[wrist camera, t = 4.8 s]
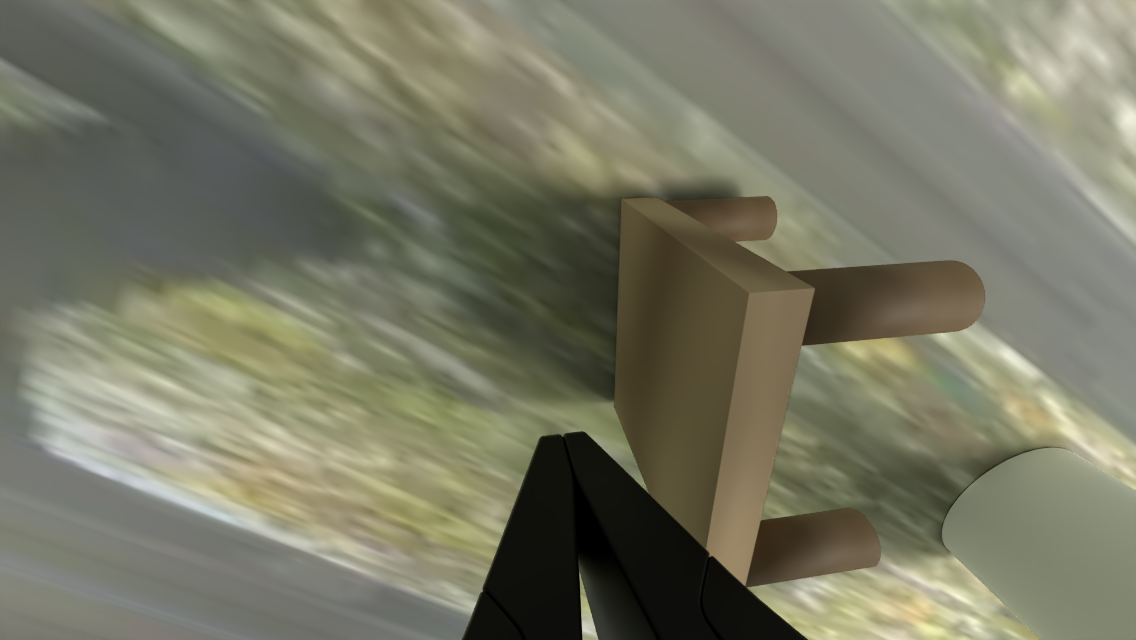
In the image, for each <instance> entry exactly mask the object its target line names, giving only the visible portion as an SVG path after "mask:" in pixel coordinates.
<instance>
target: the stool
mask: <svg viewBox="0 0 1136 640" xmlns="http://www.w3.org/2000/svg"><path fill="white" fill-rule="evenodd" d="M776 223H777V210H776V206H775V203H774V201H773V200H772V199H771V198H770V197H768V196H762V197H739V198H717V199H695V200H673V201H662V200H660V199H659V198H657V197H650V198H627V199H622V201H621V229H620V256H619V284H618V312H617V340H616V368H615V396H614V408H615V410H616V413H617V415H618V418H619V420H620V423H621V425H622V428H623V430H624V432H625V435H626V437H627V440H628V442H629V445H630V447H631V450H632V452H633V455H634V457H635V460H636V462H637V465H638V467H639V469H640V472H641V474H642V477H643V479H644V482H645V484H646V487H647V489H648V492H649V494H650V495H651V496H652V497H653V498H654V499H655V500H656V501H657V502H658V503H659V504H660V505H661V506H662V507H663V508H664V509H665V510H666V511H667V512H668V513H669V514H670V515H671V516H672V517H673V518H674V519H675V520H677V521H678V522H679V523H680V524H681V525H682V526H683V527H684V528H685V529H686V530H687V531H688V532H689V533H690V534H691V535H692V536H693V537H694V538H695V539H696V540H697V541H698V542H699V543H700V544H701V545H702V546H703V547H704V548H705V549H706V550H708V551H709V553H710V556H714V557H715V558H716V559H717V560H718V561H719V562H720V563H721V564H722V565H723V566H724V567H725V568H726V569H727V570H728V571H729V572H730V573H732V574H733V575H734V576H735V577H736V578H737V579H738V580H739V581H740V582H741V583H742V584H743V585H745V586H746V587H752V586H759V585H765V584H771V583H777V582H783V581H789V580H795V579H801V578H808V577H814V576H820V575H826V574H832V573H838V572H844V571H850V570H856V569H863V568H869V567H874V566H876V565H877V564H878V562H879V560H880V556H881V549H880V543H879V539H878V537H877V534H876V532H875V530H874V528H873V526H872V525H871V523H870V522H869V520H868V519H867V518H866V517H865V516H864V515H863V514H862V513H861V512H859V511H858V510H856V509H853V508H845V509H838V510H831V511H824V512H817V513H810V514H803V515H796V516H789V517H782V518H775V519H768V520H761V517H762V512H763V508H764V504H765V500H766V495H767V491H768V487H769V483H770V478H771V474H772V470H773V465H774V461H775V457H776V453H777V448H778V444H779V440H780V436H781V431H782V427H783V423H784V419H785V414H786V410H787V406H788V401H789V397H790V393H791V389H792V384H793V380H794V376H795V372H796V367H797V363H798V359H799V354H800V350H801V346H804V345H814V344H825V343H836V342H847V341H858V340H869V339H880V338H891V337H902V336H912V335H923V334H934V333H945V332H955V331H960V330H963V329H966V328H968V327H969V326H971V325H972V324H973V323H974V322H975V321H976V320H977V319H978V318H979V316H980V315H981V313H982V310H983V307H984V303H985V290H984V286H983V283H982V281H981V279H980V277H979V276H978V274H977V273H976V272H975V271H974V270H973V269H972V268H971V267H969V266H968V265H966V264H964V263H962V262H958V261H952V260H950V261H933V262H919V263H904V264H890V265H875V266H861V267H846V268H832V269H817V270H802V271H788V272H786V271H784V270H783V269H781V268H779V267H777V266H776V265H774V264H772V263H770V262H769V261H767V260H765V259H763V258H762V257H760V256H758V255H756V254H755V253H753V252H751V251H749V250H748V249H746V248H744V247H742V246H741V245H739V244H737V243H735V242H737V241H754V240H766V239H768V238H770V237H771V236H772V234H773V232H774V230H775V227H776Z"/></svg>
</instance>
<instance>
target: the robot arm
mask: <svg viewBox="0 0 1136 640" xmlns="http://www.w3.org/2000/svg"><path fill="white" fill-rule="evenodd" d="M579 570H580V574H581V577H582V581H583V585H584V588H585V592H586V596H587V599H588V603H589V607H590V610H591V614H592V617H593V621H594V625H595V628H596V632H597V636H598V639H599V640H808V639H807V638H805V637H804V636H803V635H802V634H800V633H799V632H798V631H797V630H795V629H794V628H793V627H792V626H791V625H790V624H788V623H787V622H786V621H785V620H784V619H782V618H781V617H780V616H779V615H778V614H776V613H775V612H774V611H773V610H772V609H770V608H769V607H768V606H767V605H766V604H765V603H763V602H762V601H761V600H760V599H759V598H758V597H757V596H755V595H754V594H753V593H752V592H751V591H750V590H749V589H748V588H747V587H746V586H745V585H743V584H742V583H741V582H740V581H739V580H738V579H737V578H736V577H735V576H734V575H733V574H732V573H730V572H729V571H728V570H727V569H726V568H725V567H724V566H723V565H722V564H721V563H720V562H719V561H718V560H717V559H716V558H715V557H714V556H710V553H709V551H708V550H706V549H705V548H704V547H703V546H702V545H701V544H700V543H699V542H698V541H697V540H696V539H695V538H694V537H693V536H692V535H691V534H690V533H689V532H688V531H687V530H686V529H685V528H684V527H683V526H682V525H681V524H680V523H679V522H678V521H677V520H675V519H674V518H673V517H672V516H671V515H670V514H669V513H668V512H667V511H666V510H665V509H664V508H663V507H662V506H661V505H660V504H659V503H658V502H657V501H656V500H655V499H654V498H653V497H652V496H651V495H650V494H649V493H648V492H647V491H646V490H644V489H643V488H642V487H641V486H640V485H639V484H638V483H637V482H636V481H635V480H634V479H633V478H632V477H631V476H630V475H629V474H628V473H627V472H626V471H625V470H624V469H623V468H622V467H621V466H620V465H619V464H618V463H617V462H616V461H615V460H613V459H612V458H611V457H610V456H609V455H608V454H607V453H606V452H605V451H604V450H603V449H602V448H601V447H600V446H599V445H598V444H597V443H596V442H595V441H594V440H593V439H592V438H591V437H590V436H589V435H588V434H587V433H585V432H573V433H566V434H564V435H563V437H562V436H561V435H560V434H555V435H546V436H542V437H540V439H539V441H538V443H537V446H536V449H535V451H534V454H533V456H532V459H531V462H530V464H529V467H528V470H527V472H526V475H525V477H524V480H523V483H522V485H521V488H520V491H519V493H518V496H517V499H516V501H515V504H514V506H513V509H512V512H511V514H510V517H509V520H508V522H507V525H506V527H505V530H504V533H503V535H502V538H501V541H500V543H499V546H498V549H497V551H496V554H495V556H494V559H493V562H492V564H491V567H490V570H489V572H488V575H487V577H486V580H485V583H484V585H483V592H481V593H480V595H479V598H478V600H477V603H476V606H475V608H474V611H473V614H472V616H471V619H470V621H469V623H468V626H467V628H466V631H465V633H464V635H463V638H462V640H582V621H581V600H580V579H579Z"/></svg>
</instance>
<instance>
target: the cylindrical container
mask: <svg viewBox="0 0 1136 640" xmlns="http://www.w3.org/2000/svg"><path fill="white" fill-rule="evenodd" d="M942 540H943V543H944V545H945V547H946V548H947V549H948V550H949V551H950V552H951V553H952V554H953V555H954V556H955V557H956V558H957V559H958V560H959V561H960V562H961V563H962V564H963V565H964V566H965V567H966V568H967V569H968V570H969V571H970V572H971V573H972V574H973V575H974V576H975V577H977V578H978V579H979V580H980V581H981V582H982V583H983V584H984V585H985V586H986V587H987V588H988V589H989V590H990V591H991V592H992V593H993V594H994V595H995V596H996V597H997V598H998V599H999V600H1000V601H1001V602H1002V603H1003V604H1004V605H1005V606H1006V607H1007V608H1008V609H1009V610H1010V611H1011V612H1012V613H1013V614H1014V615H1015V616H1016V617H1017V618H1019V619H1020V620H1021V621H1022V622H1023V623H1024V624H1025V625H1026V626H1027V627H1028V628H1029V629H1030V630H1031V631H1032V632H1033V633H1034V634H1035V635H1036V636H1037V637H1038V638H1039V639H1040V640H1136V490H1135V489H1133V488H1131V487H1130V486H1128V485H1126V484H1125V483H1123V482H1121V481H1120V480H1118V479H1116V478H1115V477H1113V476H1111V475H1110V474H1108V473H1106V472H1105V471H1103V470H1101V469H1100V468H1098V467H1096V466H1095V465H1093V464H1091V463H1090V462H1088V461H1086V460H1085V459H1083V458H1081V457H1080V456H1078V455H1076V454H1075V453H1073V452H1071V451H1068V450H1066V449H1062V448H1043V449H1036V450H1033V451H1029V452H1025V453H1022V454H1020V455H1018V456H1015V457H1013V458H1010V459H1008V460H1006V461H1004V462H1003V463H1001V464H999V465H997V466H995V467H994V468H992V469H991V470H989V471H988V472H986V473H985V474H983V475H982V476H981V477H979V478H978V479H977V480H976V481H975V482H974V483H972V484H971V485H970V486H969V487H968V488H967V489H966V490H965V491H964V492H963V493H962V494H961V495H960V496H959V498H958V499H957V500H956V502H955V503H954V504H953V506H952V507H951V508H950V510H949V512H948V514H947V516H946V518H945V520H944V524H943V528H942Z"/></svg>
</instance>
